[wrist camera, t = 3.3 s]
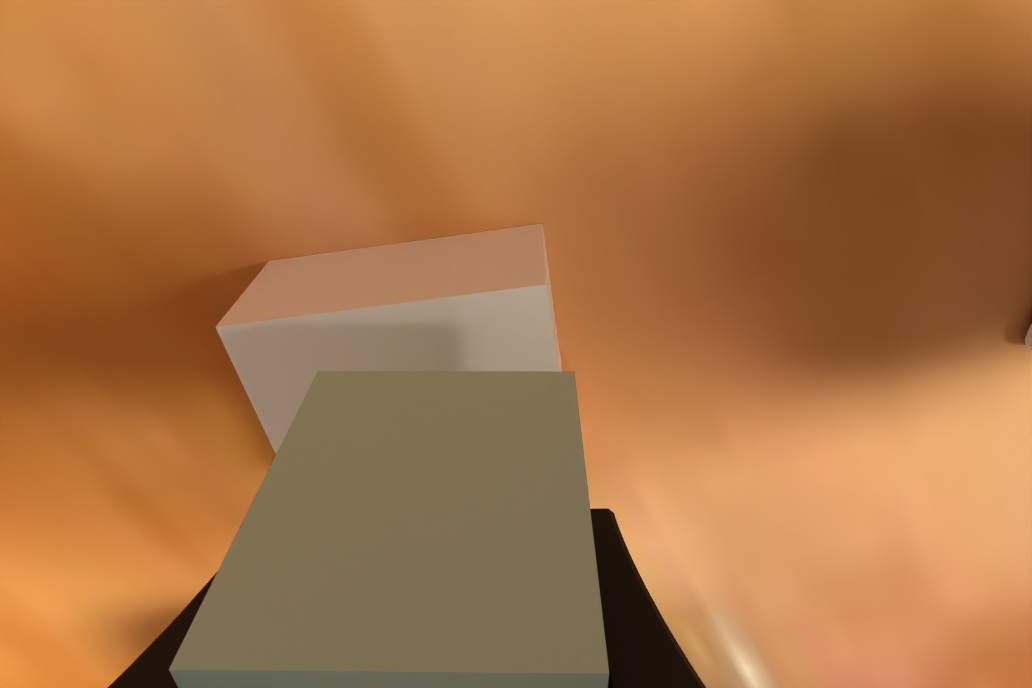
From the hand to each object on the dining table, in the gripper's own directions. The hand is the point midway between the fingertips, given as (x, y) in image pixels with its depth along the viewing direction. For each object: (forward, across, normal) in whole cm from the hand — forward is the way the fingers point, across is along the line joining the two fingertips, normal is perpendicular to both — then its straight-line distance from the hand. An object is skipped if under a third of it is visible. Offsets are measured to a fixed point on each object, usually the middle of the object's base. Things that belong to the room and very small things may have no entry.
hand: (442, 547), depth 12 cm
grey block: (+9, +1, +1) cm, 9 cm away
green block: (+2, 0, 0) cm, 2 cm away
